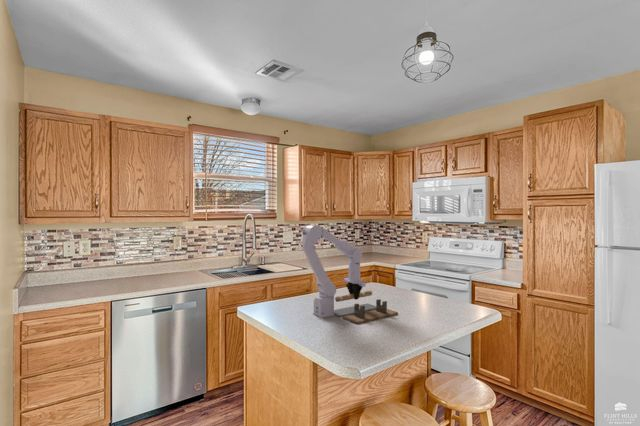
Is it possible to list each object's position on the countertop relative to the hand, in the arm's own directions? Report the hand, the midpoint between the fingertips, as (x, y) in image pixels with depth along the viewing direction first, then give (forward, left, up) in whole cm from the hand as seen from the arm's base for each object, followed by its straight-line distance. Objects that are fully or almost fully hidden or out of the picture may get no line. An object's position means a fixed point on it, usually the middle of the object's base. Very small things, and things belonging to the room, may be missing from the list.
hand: (354, 298), depth 170 cm
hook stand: (0, -12, -6) cm, 13 cm away
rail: (0, 0, 0) cm, 0 cm away
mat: (0, 0, -6) cm, 6 cm away
